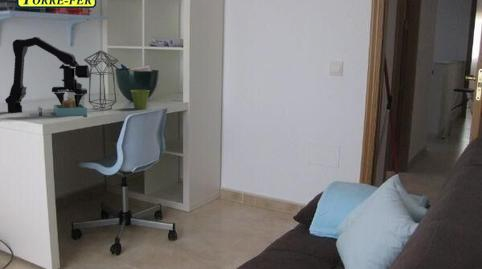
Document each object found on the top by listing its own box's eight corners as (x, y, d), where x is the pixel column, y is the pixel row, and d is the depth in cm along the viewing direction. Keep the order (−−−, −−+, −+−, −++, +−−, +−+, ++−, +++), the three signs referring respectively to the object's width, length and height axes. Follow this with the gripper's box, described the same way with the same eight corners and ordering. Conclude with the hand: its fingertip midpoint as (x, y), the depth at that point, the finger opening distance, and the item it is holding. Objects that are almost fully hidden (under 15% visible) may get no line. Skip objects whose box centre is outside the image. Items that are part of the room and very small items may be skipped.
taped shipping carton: (71, 114, 256) (70, 101, 255) (62, 113, 258) (62, 100, 257) (77, 113, 262) (77, 100, 260) (69, 112, 263) (68, 99, 262)
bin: (57, 118, 250) (56, 108, 249) (53, 113, 263) (53, 104, 262) (86, 117, 257) (86, 107, 256) (82, 113, 270) (82, 104, 269)
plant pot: (143, 106, 305) (143, 89, 303) (153, 109, 296) (153, 91, 294) (126, 108, 297) (126, 89, 295) (136, 110, 288) (136, 91, 286)
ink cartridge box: (72, 110, 280) (71, 84, 277) (67, 109, 283) (66, 84, 281) (85, 108, 287) (84, 84, 284) (80, 107, 290) (79, 83, 287)
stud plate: (30, 118, 246) (30, 107, 246) (29, 115, 255) (29, 105, 254) (51, 117, 251) (51, 107, 250) (49, 114, 260) (49, 104, 259)
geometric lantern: (121, 109, 291) (120, 51, 284) (103, 112, 278) (102, 51, 270) (101, 106, 298) (100, 49, 291) (82, 109, 284) (81, 50, 277)
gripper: (93, 77, 261) (93, 106, 264) (64, 75, 266) (65, 103, 269) (80, 78, 251) (81, 108, 253) (50, 76, 256) (51, 105, 259)
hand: (69, 106), depth 259 cm, fingers open, 9 cm apart
